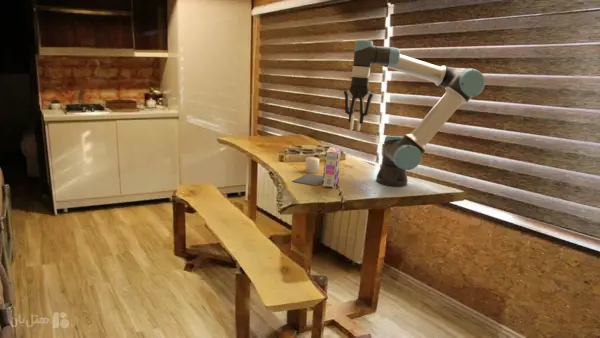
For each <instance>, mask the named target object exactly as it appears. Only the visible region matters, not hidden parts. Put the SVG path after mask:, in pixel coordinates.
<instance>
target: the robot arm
mask: <svg viewBox="0 0 600 338" xmlns="http://www.w3.org/2000/svg"><path fill="white" fill-rule="evenodd" d="M353 52H354V53H353V61H352V62H353V64H352V71H351V72H352V73H351V75H352V76H351V80H350V88H349V89H347V90H344V91H343V94H344V105H345V106H344V108H345V109H344V110H345V111H344V112H345V114H347V115H348V123H350V125H349V131H353V130H354V124H355V114H354V111H355V106H356V102H357V99H359V116H358V119H357V125H356V126H357V127H356V132H360V131H361V127H362V126H361V125H362V124H364V119H365V117H366V116H368V115H369V112H370V108H371V103H372V99H373V97H374V95H375V94H374V92H371V91H370V89H369V83H370V79H369V77H370V73H371V65H372V64H373V65H378V66H381V67H383V68H388V69H391V70H394V71H397V72H401V73H404V74H406V75H410V76H413V77H416V78H419V79H423V80H425V81H428V82H432V83H434V85H435V86H437V87H440V88H443V89H445V92H444V94H443V95H442V97H440V99H439V100H438V101H437V102H436V104H435V105H434V106H433V107H432V108H431V109H430V111H429V112H428V113H427V114H426V115H425V116H424V118H422V120H421V121H420V122H419V123H418V124H417V125H416V127H415V128H414V129H413V130H412V131H411V132H410V133H409V134H408V133H407V134H404V136H399V135H398V136H397V135H386V136H385V138H384V141H383V149H382V151H383V152H382V158H381V159H382V160H381V165H380V168H379V170H378V172H377V175H376V182H377V183H378V184H382V185H385V186H390V187H391V186H392V187H405V186H408V181H409V179H408V175H407V171H411V170H414V169H416V167H418V166H419V165H420V163H421V162H422V161H421V160H422V156H423V154H424V153H425V152H426V151H427V150H426V146H427V145H428V143H429V142H430V141H431V140H432V139H433V138H434V136H435V135H436V134H437V133H438V132H439V131H440V129H441V128H442V127H443V126H444V125H445V124H446V123H447V121H448V120H449V119H450V118H451V117H452V116H453V114H455V112H456V111H457V110H458V108H459V107H460V106H461V105H466V104H468V102H469V101H470V100H471V99H472V98H473V97H476V96H478V95H480V94H481V93H482V92H483V90H485V89H484V88H485V86H486V80H485V77H484V74H483V73H482V71H480V70H478V69H474V68H471V67H469V68H463V67H461V68H460V67H451V66H446V65H441V66H439V65H436V64H432V63H430V62H427V61H423V60H419V59H417V58H414V57H412V56H411V57H410V56H407V55H404V54H401V51H400V49H399V48H398V47H393V46H379V45H378V46H377V45H374V42H373V41H372V40H369V39H357V40H356V41H355V44H354V50H353ZM350 95H351V96H352V98H351V103H350ZM366 96H367V100H366V104H365V97H366Z"/></svg>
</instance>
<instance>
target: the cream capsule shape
mask: <svg viewBox="0 0 600 338" xmlns="http://www.w3.org/2000/svg"><path fill="white" fill-rule="evenodd" d="M304 167H305V168H304V173H306V174H319V172H320V171H319V169H320V158H319V157H315V156H307V157H305V166H304Z"/></svg>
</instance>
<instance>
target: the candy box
mask: <svg viewBox="0 0 600 338" xmlns="http://www.w3.org/2000/svg"><path fill="white" fill-rule="evenodd" d="M341 154H342V148H340V147H332V146H329V148H327V150H326V151H325V155H324V157H325V158H324V167H323V175H322V176H323V182H322V187H323V188H324V187H325V188H331V189H335V188H336V186H337V184H338V182H339V175H340V166H341V164H340V163H341Z"/></svg>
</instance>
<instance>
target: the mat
mask: <svg viewBox="0 0 600 338" xmlns="http://www.w3.org/2000/svg"><path fill="white" fill-rule="evenodd" d="M291 182H293V183H297V184H304V185H307V184H311V185H310V186H312V185H316V186H315V187H317V185H318V184H319V185H321V184H323V175H318V174H313V173H305V174H303V175H301V176H299V177H297V178H295V179H294V180H292V181H291ZM320 183H321V184H320ZM319 185H318V186H319Z"/></svg>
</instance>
